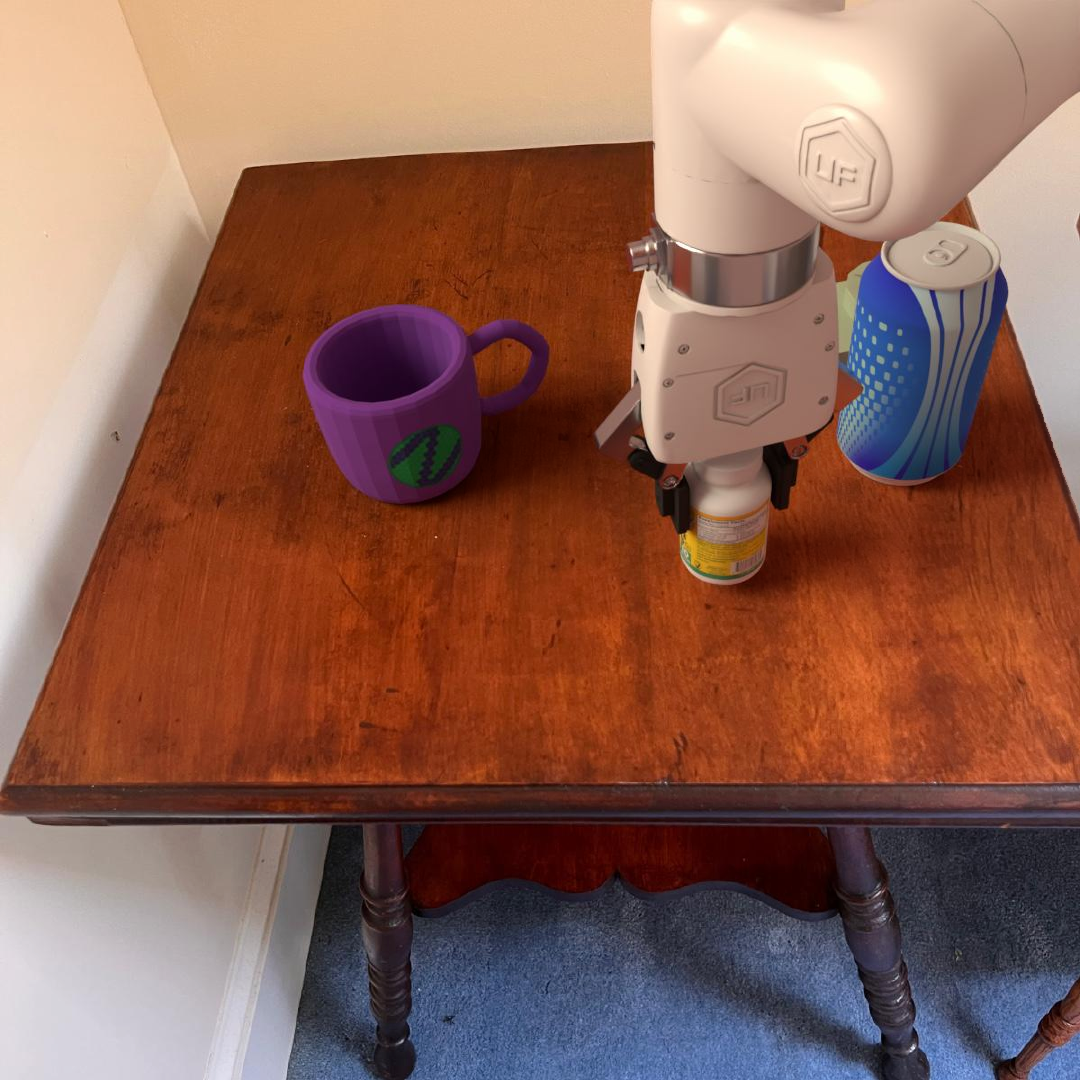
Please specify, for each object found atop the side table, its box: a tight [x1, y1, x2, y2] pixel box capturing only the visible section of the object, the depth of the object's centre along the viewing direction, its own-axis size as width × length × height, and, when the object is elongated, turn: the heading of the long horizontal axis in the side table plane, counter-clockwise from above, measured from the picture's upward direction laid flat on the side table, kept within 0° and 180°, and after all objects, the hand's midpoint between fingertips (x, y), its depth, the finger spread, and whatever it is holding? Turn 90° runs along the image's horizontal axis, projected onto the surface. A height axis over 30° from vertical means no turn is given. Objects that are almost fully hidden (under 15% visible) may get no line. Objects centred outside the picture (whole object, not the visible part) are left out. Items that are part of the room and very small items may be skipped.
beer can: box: [836, 221, 1009, 487], centre depth 66 cm, size 8×8×16 cm
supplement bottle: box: [679, 446, 772, 586], centre depth 62 cm, size 5×5×10 cm
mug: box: [302, 303, 550, 505], centre depth 73 cm, size 17×11×10 cm, turn 116°
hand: (724, 503), depth 62 cm, fingers closed on supplement bottle, 5 cm apart
